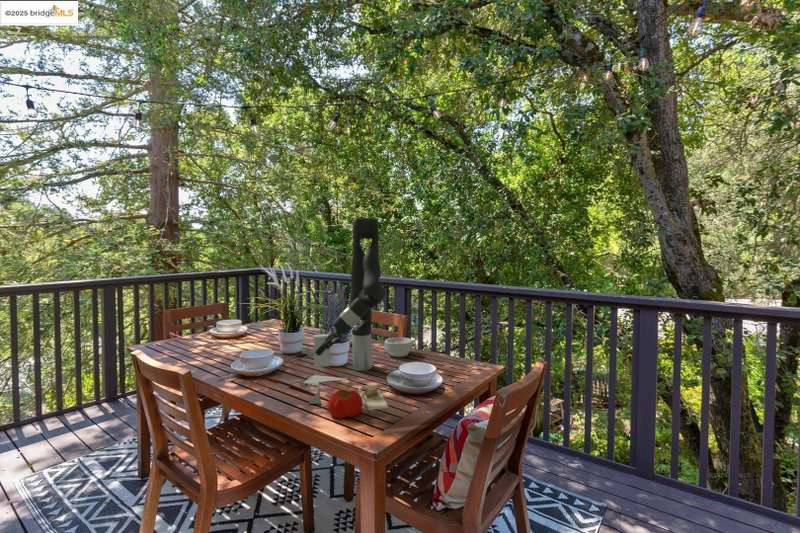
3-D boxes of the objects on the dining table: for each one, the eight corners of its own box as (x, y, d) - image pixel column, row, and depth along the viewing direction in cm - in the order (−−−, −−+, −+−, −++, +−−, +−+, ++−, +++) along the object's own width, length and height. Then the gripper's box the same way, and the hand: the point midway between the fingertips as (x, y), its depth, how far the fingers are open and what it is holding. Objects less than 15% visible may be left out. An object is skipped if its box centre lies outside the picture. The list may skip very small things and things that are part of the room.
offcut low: (364, 392, 172) (364, 388, 172) (374, 391, 173) (374, 387, 173) (366, 397, 166) (366, 394, 166) (377, 396, 167) (377, 393, 167)
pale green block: (314, 364, 168) (313, 334, 167) (329, 363, 169) (328, 333, 168) (314, 366, 165) (313, 337, 164) (330, 365, 166) (329, 336, 165)
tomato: (318, 418, 151) (317, 394, 150) (341, 405, 161) (341, 383, 161) (347, 428, 143) (346, 403, 143) (370, 414, 154) (369, 391, 153)
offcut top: (364, 389, 171) (364, 386, 171) (372, 388, 172) (372, 384, 172) (369, 393, 166) (369, 390, 166) (377, 392, 168) (377, 388, 168)
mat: (318, 392, 175) (318, 391, 175) (336, 393, 174) (336, 391, 174) (308, 404, 163) (308, 403, 163) (328, 405, 162) (328, 403, 162)
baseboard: (366, 395, 173) (376, 385, 184) (366, 388, 173) (376, 378, 184) (300, 387, 182) (313, 378, 194) (300, 381, 182) (313, 372, 193)
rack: (358, 394, 173) (358, 388, 172) (379, 392, 175) (379, 386, 174) (364, 412, 155) (364, 406, 155) (388, 410, 157) (388, 403, 157)
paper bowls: (400, 348, 237) (400, 335, 237) (418, 354, 226) (418, 340, 225) (379, 354, 228) (378, 339, 227) (397, 360, 216) (396, 345, 215)
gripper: (338, 311, 174) (309, 342, 172) (341, 318, 160) (310, 351, 158) (351, 323, 175) (322, 353, 174) (355, 330, 162) (324, 364, 160)
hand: (316, 352), depth 166 cm, fingers closed on pale green block, 3 cm apart
